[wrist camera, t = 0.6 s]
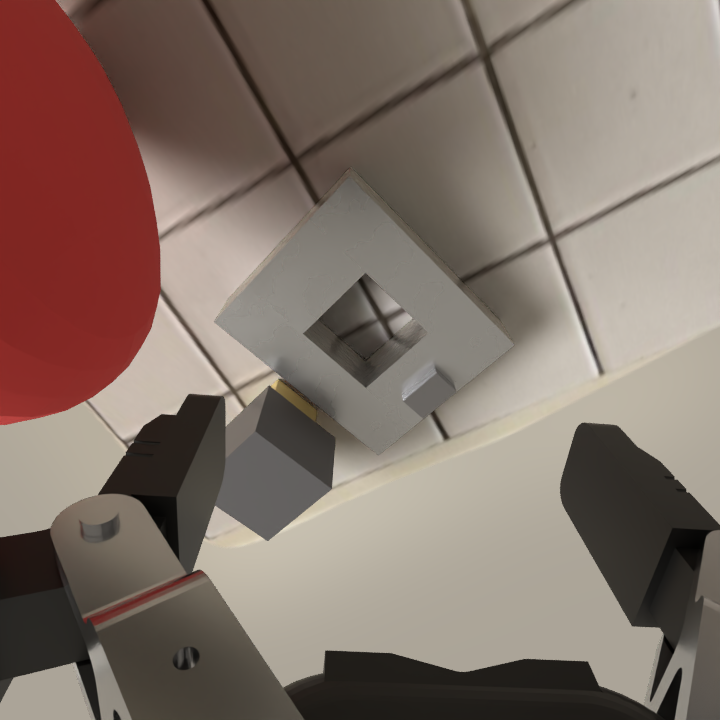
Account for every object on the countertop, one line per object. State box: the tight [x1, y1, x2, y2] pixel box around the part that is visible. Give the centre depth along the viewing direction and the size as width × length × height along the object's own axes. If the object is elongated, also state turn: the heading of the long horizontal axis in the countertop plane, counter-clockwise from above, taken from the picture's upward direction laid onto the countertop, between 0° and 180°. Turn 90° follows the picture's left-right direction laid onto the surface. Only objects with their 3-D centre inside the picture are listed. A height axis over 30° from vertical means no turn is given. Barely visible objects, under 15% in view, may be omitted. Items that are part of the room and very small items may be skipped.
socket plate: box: [214, 167, 514, 455], centre depth 29 cm, size 10×12×4 cm
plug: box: [215, 379, 335, 541], centre depth 31 cm, size 5×5×7 cm
